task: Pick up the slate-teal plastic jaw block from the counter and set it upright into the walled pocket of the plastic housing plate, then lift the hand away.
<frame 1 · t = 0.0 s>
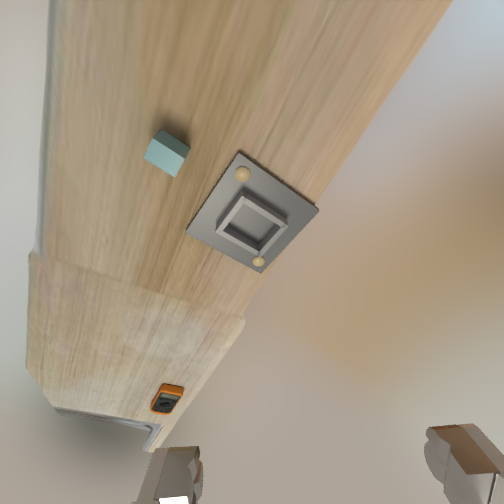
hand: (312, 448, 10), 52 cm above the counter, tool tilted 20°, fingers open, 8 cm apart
housing: (251, 219, 63), on the counter
jaw block: (171, 147, 53), on the counter
multimeter: (167, 394, 107), on the counter
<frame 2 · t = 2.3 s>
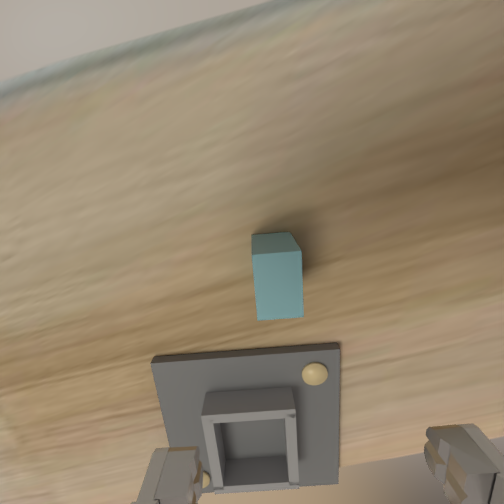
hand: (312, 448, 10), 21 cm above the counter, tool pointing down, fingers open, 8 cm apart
housing: (252, 420, 36), on the counter
jaw block: (272, 260, 29), on the counter
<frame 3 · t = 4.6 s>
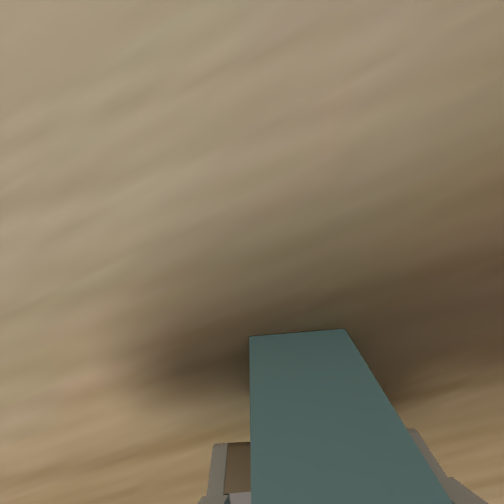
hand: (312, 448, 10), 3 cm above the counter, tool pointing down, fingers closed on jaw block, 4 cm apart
jaw block: (299, 390, 12), on the counter, touching gripper
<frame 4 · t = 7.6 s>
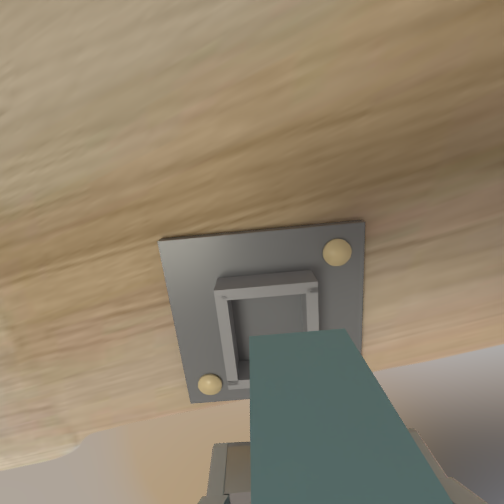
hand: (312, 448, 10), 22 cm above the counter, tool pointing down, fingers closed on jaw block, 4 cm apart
housing: (267, 317, 33), on the counter
jaw block: (299, 390, 12), point 19 cm above the counter, touching gripper
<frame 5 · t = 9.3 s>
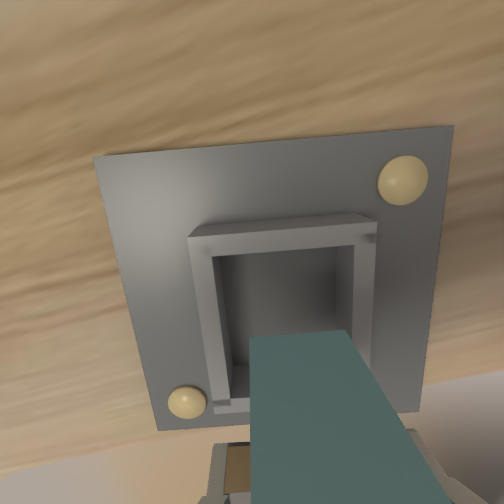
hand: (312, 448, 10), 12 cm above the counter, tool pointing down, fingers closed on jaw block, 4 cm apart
housing: (279, 296, 21), on the counter
jaw block: (299, 391, 12), point 9 cm above the counter, touching gripper
when the fingers open (5 cm above the counter, at t = 10.9 s): jaw block drops 1 cm, resting on housing.
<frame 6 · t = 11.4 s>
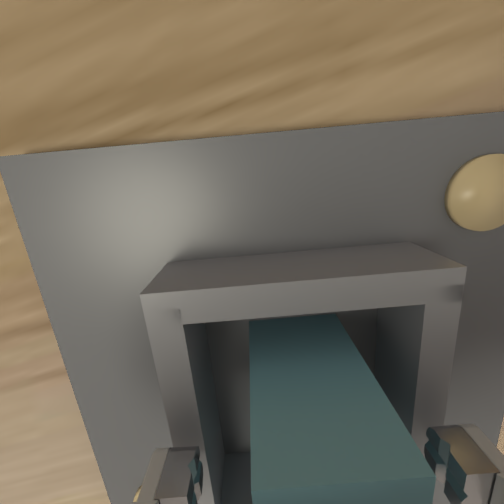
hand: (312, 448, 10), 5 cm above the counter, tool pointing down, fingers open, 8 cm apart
housing: (290, 356, 15), on the counter
jaw block: (294, 371, 13), point 1 cm above the counter, touching housing
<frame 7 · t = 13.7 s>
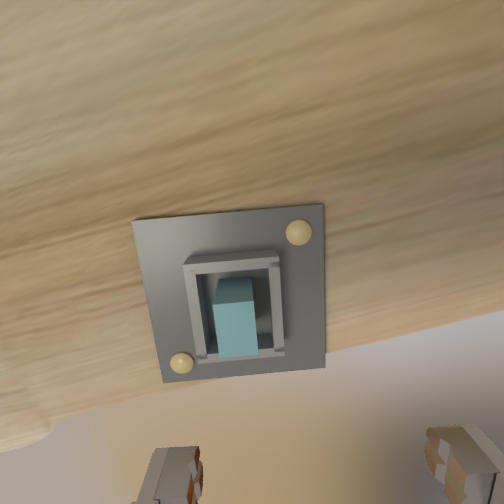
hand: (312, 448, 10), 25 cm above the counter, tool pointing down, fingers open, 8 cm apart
housing: (237, 296, 35), on the counter
jaw block: (237, 300, 34), point 1 cm above the counter, touching housing
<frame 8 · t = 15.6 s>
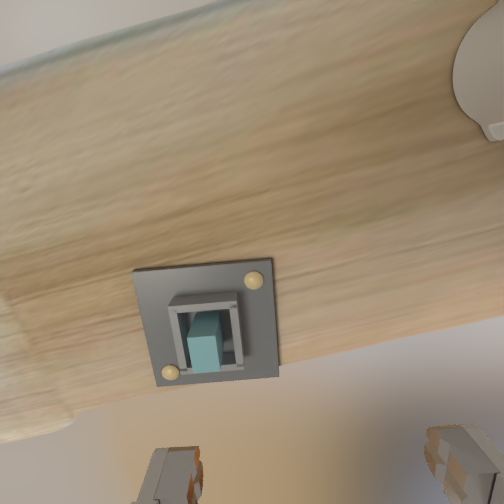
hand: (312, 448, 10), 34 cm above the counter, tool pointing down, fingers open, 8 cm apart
housing: (211, 324, 47), on the counter
jaw block: (210, 327, 46), point 1 cm above the counter, touching housing
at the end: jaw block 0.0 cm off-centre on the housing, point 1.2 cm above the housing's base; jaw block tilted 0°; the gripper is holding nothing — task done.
